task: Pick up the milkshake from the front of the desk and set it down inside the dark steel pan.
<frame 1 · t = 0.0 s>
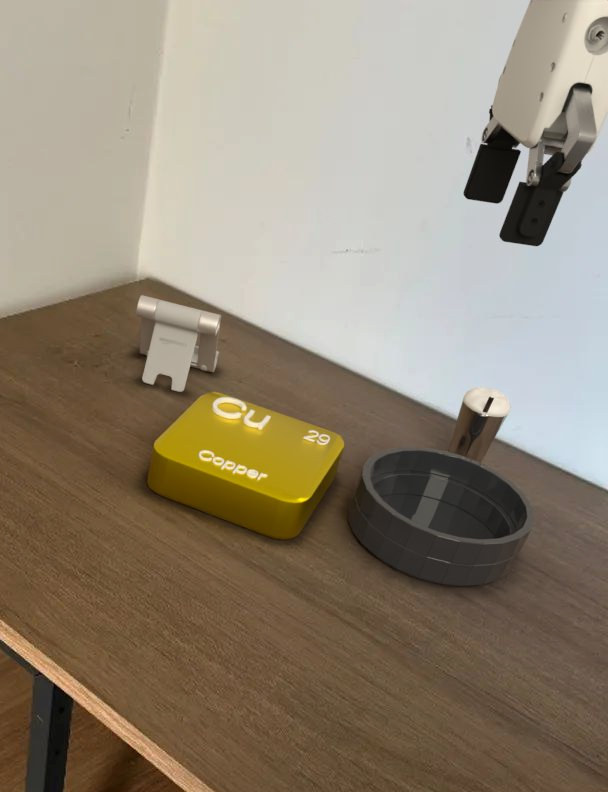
hand: (499, 220, 75), 27 cm above the table, tool pointing down, fingers open, 9 cm apart
milkshake: (455, 477, 99), on the table
element tile: (241, 483, 92), on the table
tablet stand: (170, 375, 107), on the table
pan: (428, 537, 89), on the table
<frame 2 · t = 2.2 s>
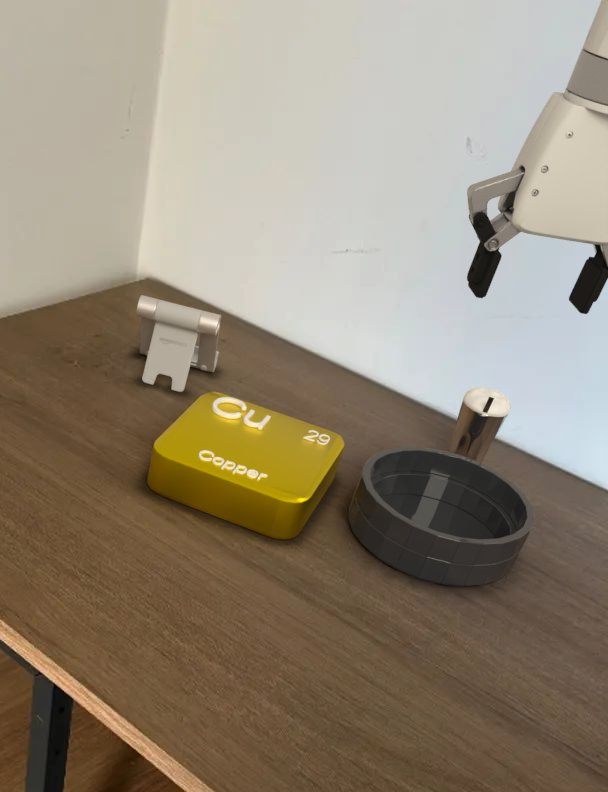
hand: (526, 299, 86), 18 cm above the table, tool pointing down, fingers open, 9 cm apart
nothing on the table moved.
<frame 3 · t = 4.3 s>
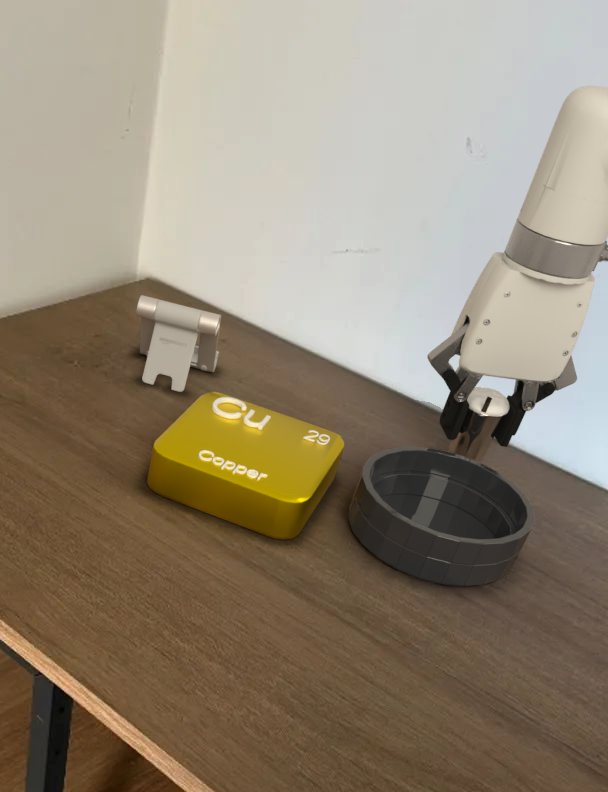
hand: (473, 434, 95), 5 cm above the table, tool pointing down, fingers closed on milkshake, 4 cm apart
milkshake: (455, 477, 99), on the table, touching gripper
everything else where it was.
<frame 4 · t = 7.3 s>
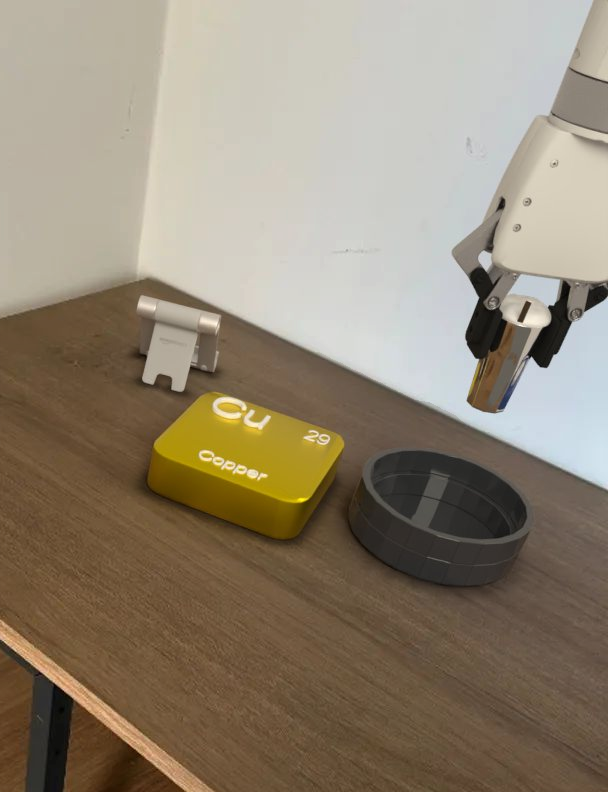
hand: (506, 354, 78), 18 cm above the table, tool pointing down, fingers closed on milkshake, 4 cm apart
milkshake: (483, 408, 81), point 13 cm above the table, touching gripper
everything else where it was.
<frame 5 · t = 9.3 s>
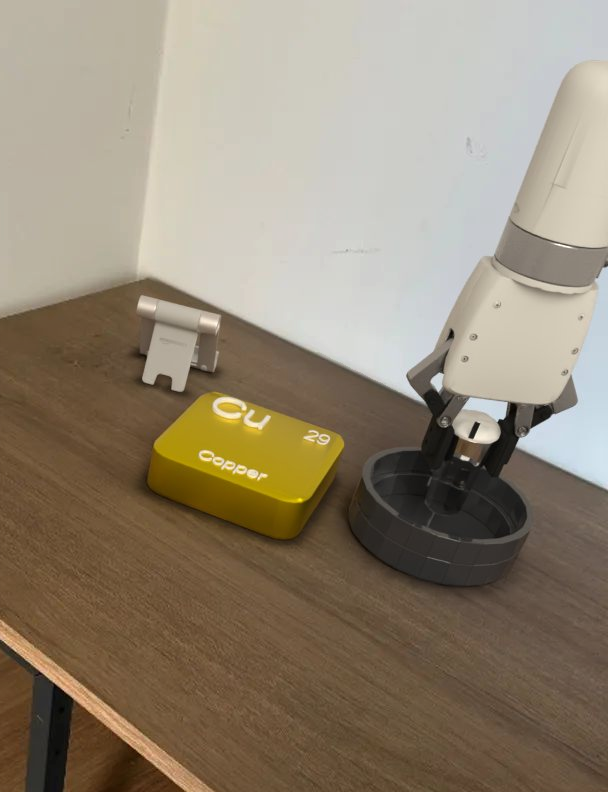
hand: (460, 463, 84), 8 cm above the table, tool pointing down, fingers closed on milkshake, 4 cm apart
milkshake: (440, 510, 87), point 3 cm above the table, touching gripper
everything else where it was.
when the fingers open (5 cm above the table, at t = 10.4 s): milkshake stays where it is, resting on pan.
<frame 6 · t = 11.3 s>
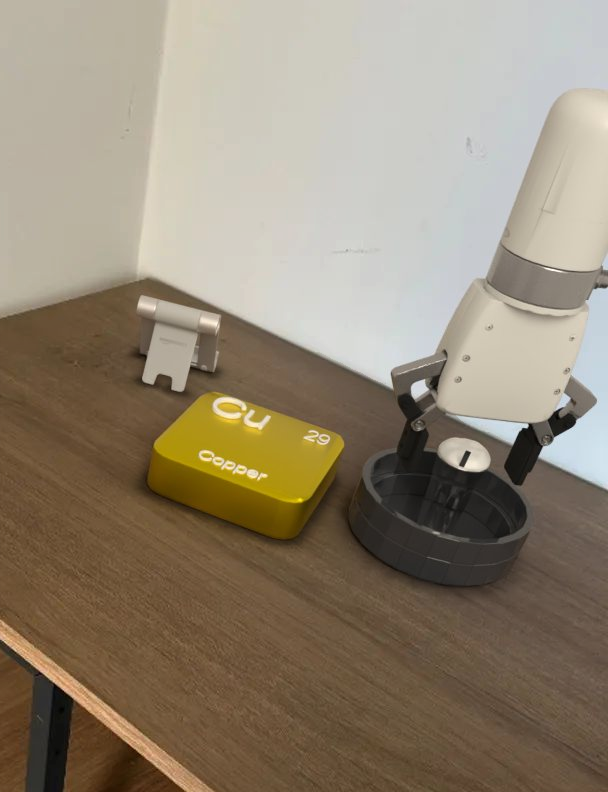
hand: (459, 471, 84), 7 cm above the table, tool pointing down, fingers open, 9 cm apart
milkshake: (430, 534, 89), resting on pan
everything else where it was.
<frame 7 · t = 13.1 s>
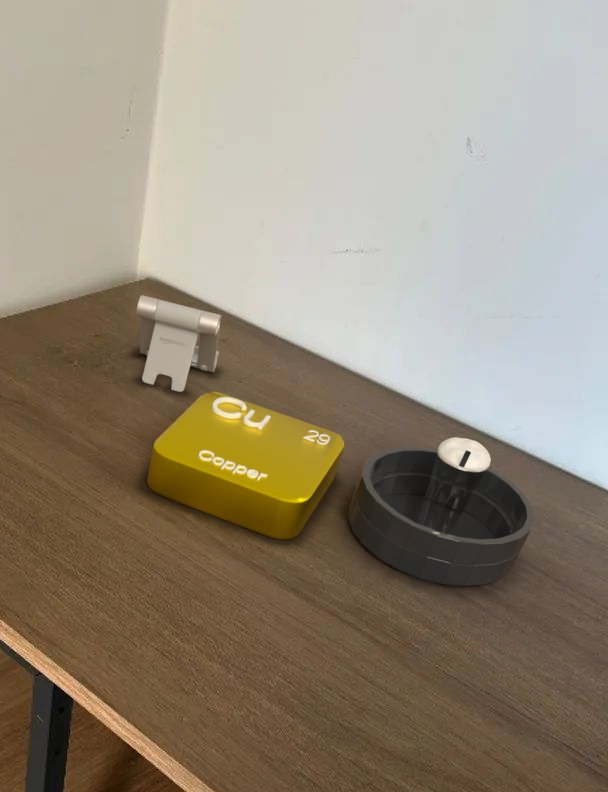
nothing on the table moved.
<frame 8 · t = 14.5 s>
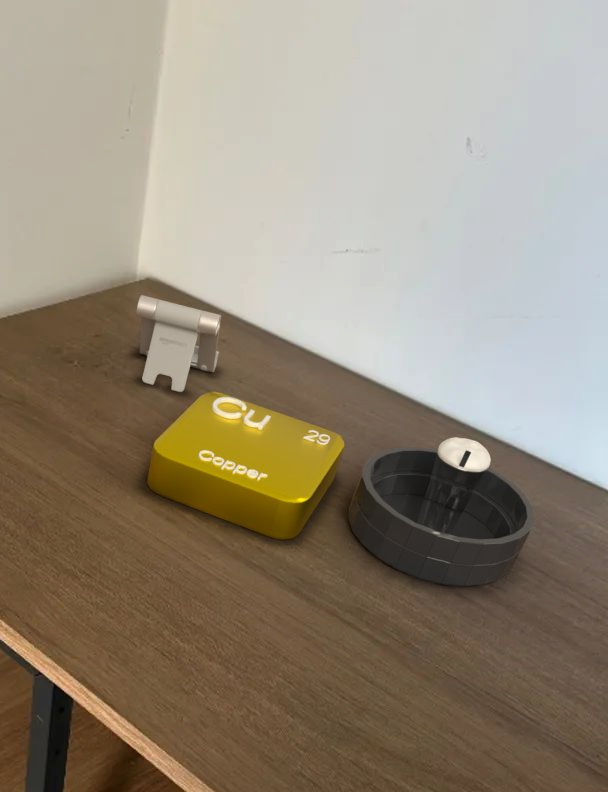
nothing on the table moved.
at the end: milkshake inside the target area in the pan (0.1 cm from its centre), point 0.3 cm above the pan's base; the gripper is holding nothing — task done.
